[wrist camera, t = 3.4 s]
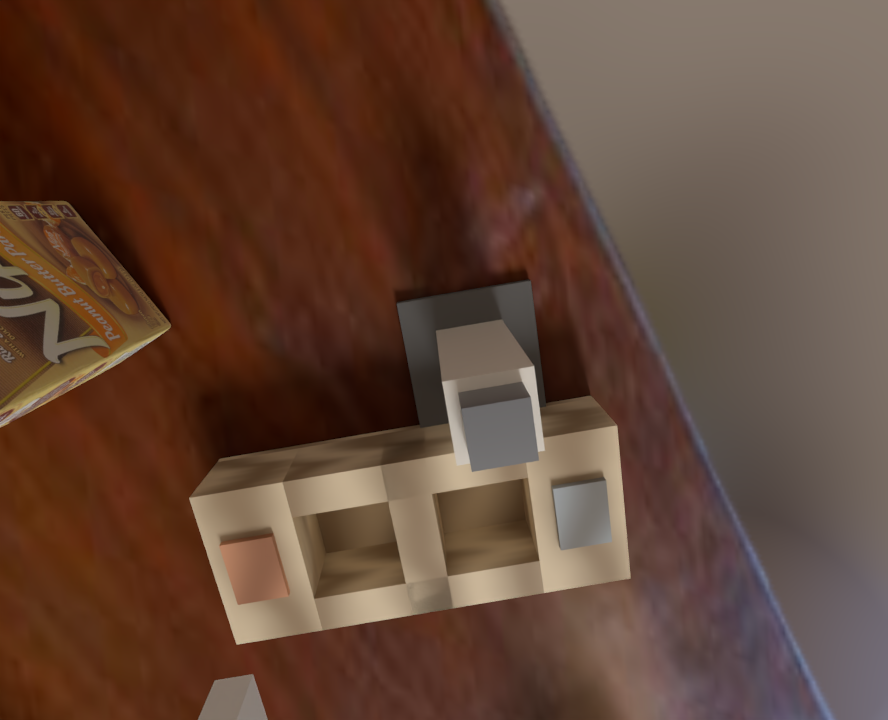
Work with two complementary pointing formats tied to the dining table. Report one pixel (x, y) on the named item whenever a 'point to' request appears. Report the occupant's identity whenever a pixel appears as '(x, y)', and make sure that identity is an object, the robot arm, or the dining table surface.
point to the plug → (489, 396)
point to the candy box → (62, 306)
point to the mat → (457, 311)
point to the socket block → (410, 525)
